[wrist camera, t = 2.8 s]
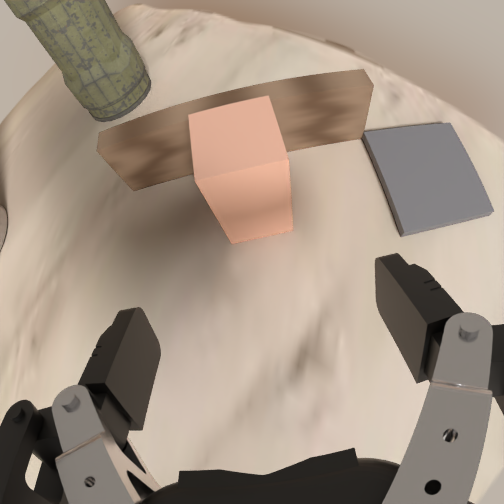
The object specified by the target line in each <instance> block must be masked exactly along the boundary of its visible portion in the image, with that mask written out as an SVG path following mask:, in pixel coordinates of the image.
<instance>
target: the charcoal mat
mask: <svg viewBox="0 0 504 504" xmlns="http://www.w3.org/2000/svg"><path fill="white" fill-rule="evenodd" d="M362 139H363V142H364V144H365V146H366V148H367V151H368V153H369V155H370V157H371V160H372V162H373V164H374V167H375V169H376V172H377V174H378V177H379V179H380V182H381V184H382V187H383V189H384V192H385V194H386V197H387V200H388V202H389V205H390V208H391V210H392V213H393V216H394V219H395V221H396V224H397V227H398V230H399V233H400V236H401V237H403V236H407V235H411V234H415V233H420V232H424V231H428V230H432V229H436V228H440V227H445V226H449V225H453V224H457V223H461V222H465V221H469V220H473V219H477V218H481V217H485V216H489V215H490V214H491V213H492V212H494V209H493V207H492V205H491V202H490V200H489V198H488V195H487V193H486V191H485V188H484V186H483V184H482V182H481V180H480V178H479V176H478V174H477V171H476V169H475V167H474V165H473V163H472V161H471V160H470V158H469V156H468V154H467V152H466V150H465V148H464V146H463V144H462V143H461V141H460V139H459V137H458V135H457V134H456V132H455V130H454V129H453V127H452V125H451V123H439V124H427V125H417V126H408V127H399V128H390V129H383V130H375V131H368V132H364V133H363V137H362Z"/></svg>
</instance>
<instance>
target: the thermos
mask: <svg viewBox="0 0 504 504" xmlns="http://www.w3.org/2000/svg"><path fill="white" fill-rule="evenodd" d="M4 1H5V2H6V3H7V5H8V6H9V8H10V9H11V10H12V12H13V13H14V15H15V16H16V17H17V18H19V19H21V20H23V21H25V22H26V23H27V25H28V26H29V27H30V29H31V30H32V32H33V33H34V34H35V36H36V37H37V38H38V40H39V41H40V43H41V44H42V45H43V47H44V48H45V49H46V51H47V52H48V53H49V55H50V56H51V57H52V59H53V60H54V62H55V63H56V64H57V66H58V67H59V68H60V70H61V71H62V73H63V78H64V82H65V84H66V86H67V87H68V88H69V89H70V91H71V92H72V93H73V95H74V96H75V97H76V98H77V100H78V101H79V102H80V103H81V105H82V106H83V107H84V108H86V109H88V110H89V113H90V114H91V115H92V116H93V118H94V119H95V120H98V121H101V122H105V121H112V120H115V119H118V118H120V117H122V116H124V115H126V114H127V113H129V112H131V111H132V110H133V109H135V108H136V107H137V106H138V105H139V104H140V103H141V102H142V101H143V100H144V99H145V98H146V96H147V94H148V92H149V90H150V88H151V80H150V78H149V76H148V74H147V73H146V71H145V66H144V64H143V61H142V59H141V58H140V56H139V54H138V52H137V50H136V48H135V46H134V44H133V42H132V40H131V39H130V38H129V37H128V36H127V35H125V34H124V33H123V32H122V31H121V30H120V28H119V26H118V24H117V22H116V20H115V18H114V16H113V14H112V13H111V11H110V9H109V7H108V5H107V3H106V1H105V0H4Z"/></svg>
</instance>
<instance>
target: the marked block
mask: <svg viewBox="0 0 504 504" xmlns="http://www.w3.org/2000/svg"><path fill="white" fill-rule="evenodd" d="M188 118H189V129H190V139H191V149H192V159H193V169H194V178H195V182H196V184H197V186H198V187H199V189H200V191H201V193H202V194H203V196H204V198H205V199H206V201H207V203H208V205H209V206H210V208H211V210H212V211H213V213H214V215H215V216H216V218H217V220H218V222H219V223H220V225H221V227H222V228H223V230H224V232H225V233H226V235H227V237H228V239H229V240H230V242H231V244H235V243H239V242H244V241H248V240H253V239H258V238H262V237H267V236H271V235H276V234H280V233H285V232H289V231H293V217H292V200H291V184H290V169H289V158H288V155H287V152H286V148H285V145H284V142H283V139H282V135H281V132H280V129H279V126H278V123H277V120H276V117H275V113H274V110H273V107H272V104H271V101H270V98H269V95H268V96H263V97H258V98H254V99H249V100H244V101H240V102H236V103H231V104H227V105H223V106H219V107H215V108H211V109H208V110H204V111H200V112H197V113H193V114H190V115H188Z"/></svg>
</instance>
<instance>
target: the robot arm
mask: <svg viewBox="0 0 504 504" xmlns="http://www.w3.org/2000/svg"><path fill="white" fill-rule="evenodd" d="M6 230H7V214H6V211H5V209H4V207H2V206H1V205H0V250H1V248H2V245H3V242H4V239H5V235H6ZM375 284H376V303H377V307H378V311H379V313H380V315H381V317H382V319H383V321H384V322H385V324H386V326H387V328H388V330H389V332H390V333H391V335H392V337H393V339H394V341H395V343H396V344H397V346H398V348H399V350H400V352H401V354H402V356H403V358H404V360H405V361H406V363H407V365H408V367H409V369H410V371H411V373H412V375H413V377H414V379H415V381H416V383H420V382H423V381H425V380H429V382H430V386H429V389H428V392H427V395H426V399H425V402H424V405H423V408H422V411H421V414H420V417H419V419H418V422H417V425H416V428H415V430H414V433H413V436H412V438H411V441H410V443H409V446H408V448H407V451H406V453H405V456H404V458H403V460H402V463H401V465H399V464H397V463H394V462H390V461H386V460H381V459H374V458H357V456H356V452H355V448H351V449H348V450H344V451H339V452H335V453H331V454H326V455H322V456H317V457H312V458H309V459H306V460H304V461H301V462H299V463H297V464H294V465H291V466H289V467H286V468H284V469H281V470H278V471H276V472H273V473H270V474H267V475H256V474H247V473H240V472H232V471H226V470H200V471H179V479H178V482H176V483H173V484H170V485H167V486H165V487H163V488H161V487H160V486H159V484H158V483H157V482H156V481H155V479H154V478H153V477H152V475H151V473H150V472H149V470H148V469H147V467H146V466H145V464H144V462H143V461H142V459H141V457H140V456H139V454H138V452H137V451H136V449H135V447H134V445H133V444H132V442H131V440H130V439H129V438H128V437H127V436H128V433H129V430H143V425H144V421H145V417H146V413H147V408H148V404H149V400H150V396H151V392H152V388H153V384H154V380H155V376H156V372H157V368H158V364H159V361H160V356H161V349H160V344H159V341H158V339H157V337H156V335H155V333H154V331H153V329H152V327H151V325H150V323H149V321H148V319H147V317H146V315H145V313H144V311H143V310H142V309H141V308H139V307H137V308H131V309H126V310H121V311H119V312H118V314H117V316H116V318H115V320H114V322H113V324H112V326H110V327H109V328H108V329H107V330H106V331H105V332H104V333H103V334H102V335H101V336H100V338H99V340H98V342H97V344H96V348H95V349H94V351H93V353H92V357H90V359H89V361H88V363H87V365H86V367H85V370H84V372H83V374H82V376H81V378H80V380H79V383H78V385H73V386H70V387H68V388H66V389H64V390H63V391H61V392H60V393H59V394H58V395H57V397H56V398H55V400H54V402H53V405H52V406H51V407H48V408H44V409H41V410H37V409H36V407H35V406H34V405H33V404H32V403H31V402H30V401H28V400H21V401H19V402H17V403H15V404H14V405H12V406H11V407H10V409H9V410H8V411H7V413H6V415H5V417H4V419H3V421H2V423H1V426H0V504H474V503H472V502H469V501H468V499H469V496H470V493H471V490H472V487H473V484H474V481H475V477H476V474H477V470H478V466H479V463H480V459H481V455H482V450H483V446H484V442H485V437H486V432H487V427H488V421H489V416H490V410H491V403H492V397H495V399H496V401H497V403H498V405H499V407H500V409H501V411H502V413H503V415H504V324H501V325H491V324H490V323H489V322H488V320H486V319H485V318H484V317H482V316H480V315H478V314H475V313H468V312H465V313H464V312H463V311H462V310H461V308H460V307H459V306H458V305H457V304H456V303H455V301H454V300H453V299H452V298H451V297H450V296H449V294H448V293H447V292H446V291H445V290H444V289H443V288H441V285H440V284H439V283H438V282H437V281H435V279H434V278H433V276H432V275H431V274H430V273H429V272H428V271H427V270H426V269H424V268H422V267H420V266H418V265H416V264H412V265H408V264H407V263H406V262H405V260H404V259H403V258H402V257H401V256H400V255H399V254H398V253H395V254H391V255H387V256H382V257H378V258H376V260H375ZM32 453H33V454H34V455H35V456H36V457H37V458H38V459H40V460H41V461H42V464H41V468H40V471H39V474H38V478H37V481H36V485H35V488H34V491H33V490H32V489H30V488H29V487H28V485H27V483H26V481H25V473H26V470H27V467H28V464H29V461H30V458H31V455H32Z"/></svg>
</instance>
